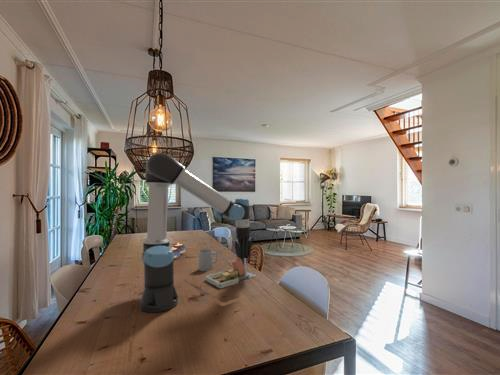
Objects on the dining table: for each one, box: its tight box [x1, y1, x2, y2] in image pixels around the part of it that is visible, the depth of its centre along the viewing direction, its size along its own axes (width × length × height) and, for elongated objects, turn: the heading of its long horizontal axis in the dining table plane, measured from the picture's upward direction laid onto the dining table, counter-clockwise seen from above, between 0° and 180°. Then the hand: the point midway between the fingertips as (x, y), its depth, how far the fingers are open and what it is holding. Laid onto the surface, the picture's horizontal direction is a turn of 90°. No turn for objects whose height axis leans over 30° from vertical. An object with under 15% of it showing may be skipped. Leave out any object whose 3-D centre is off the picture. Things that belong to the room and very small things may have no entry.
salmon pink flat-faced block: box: [230, 256, 247, 276], centre depth 136 cm, size 4×4×9 cm
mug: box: [198, 248, 219, 272], centre depth 154 cm, size 12×8×11 cm
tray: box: [204, 271, 240, 289], centre depth 129 cm, size 11×14×3 cm
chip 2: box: [227, 268, 238, 280], centre depth 133 cm, size 4×4×4 cm
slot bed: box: [233, 270, 258, 282], centre depth 137 cm, size 14×10×3 cm
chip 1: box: [220, 271, 232, 282], centre depth 131 cm, size 4×4×4 cm
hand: (244, 269), depth 138 cm, fingers closed
